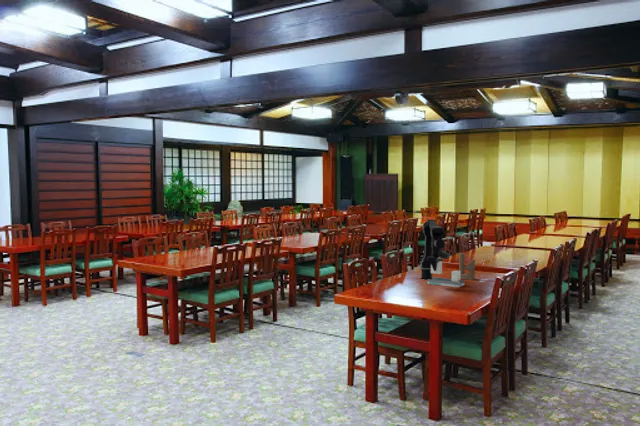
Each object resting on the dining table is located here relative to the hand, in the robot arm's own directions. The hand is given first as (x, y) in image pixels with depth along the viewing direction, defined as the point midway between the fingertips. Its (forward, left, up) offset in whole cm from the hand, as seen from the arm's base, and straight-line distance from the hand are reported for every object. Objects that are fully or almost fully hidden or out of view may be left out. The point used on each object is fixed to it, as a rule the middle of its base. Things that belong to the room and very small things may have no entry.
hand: (436, 270), depth 340 cm
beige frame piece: (+6, +40, -12) cm, 42 cm away
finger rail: (+1, +14, -11) cm, 18 cm away
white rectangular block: (0, 0, -2) cm, 2 cm away
